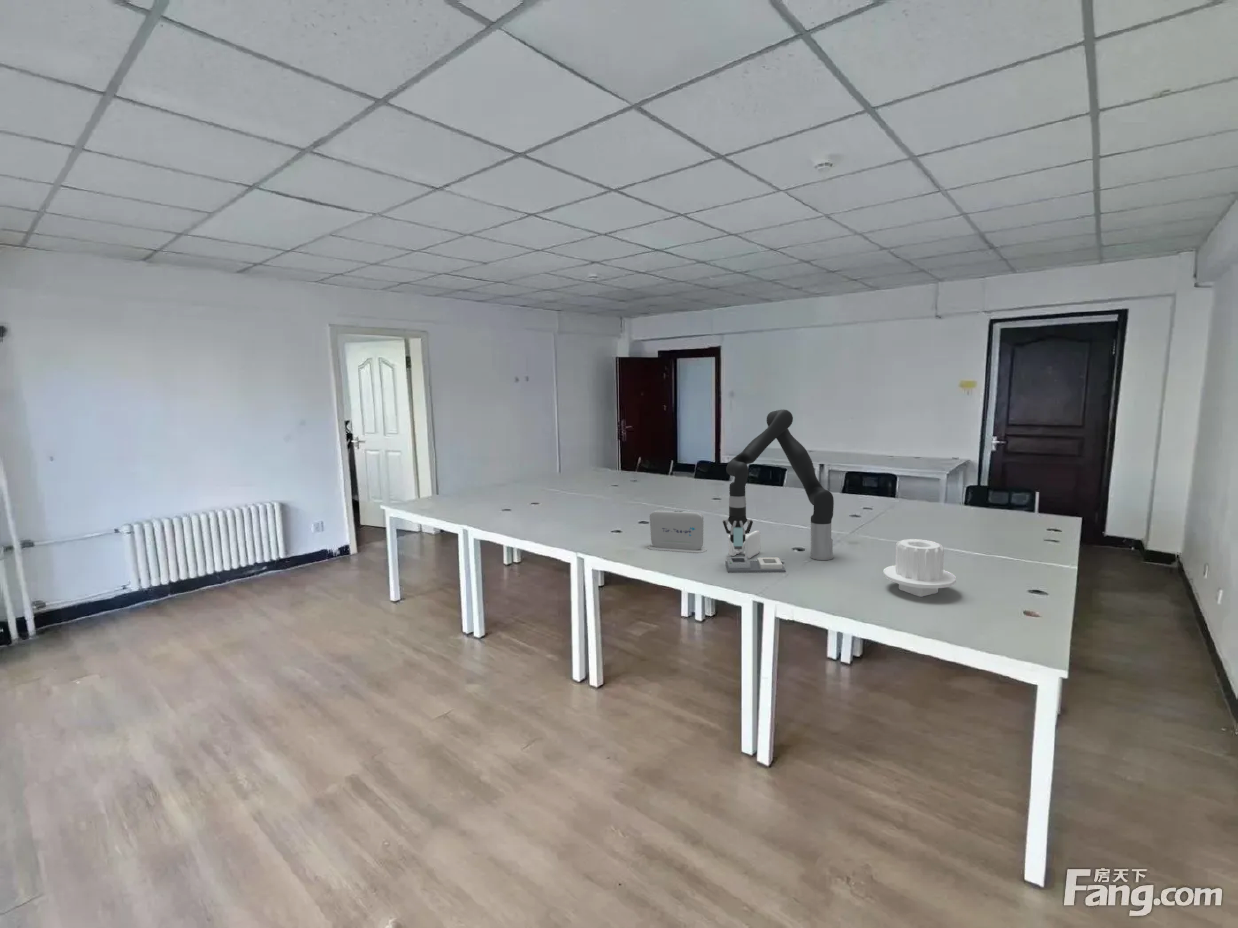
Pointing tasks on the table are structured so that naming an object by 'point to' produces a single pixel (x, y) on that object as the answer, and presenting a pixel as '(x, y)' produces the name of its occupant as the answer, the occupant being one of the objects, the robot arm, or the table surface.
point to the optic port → (738, 563)
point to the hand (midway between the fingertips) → (737, 542)
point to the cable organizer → (747, 545)
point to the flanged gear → (919, 567)
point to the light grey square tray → (769, 563)
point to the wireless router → (677, 531)
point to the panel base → (754, 568)
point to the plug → (738, 537)
